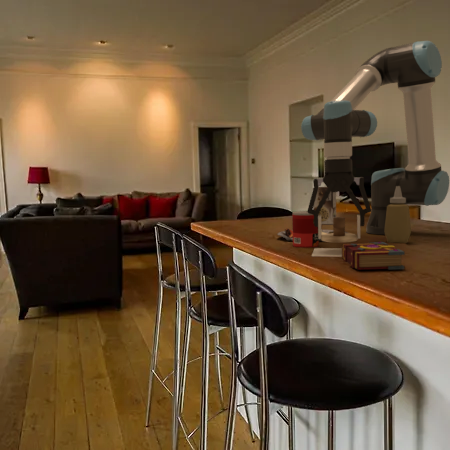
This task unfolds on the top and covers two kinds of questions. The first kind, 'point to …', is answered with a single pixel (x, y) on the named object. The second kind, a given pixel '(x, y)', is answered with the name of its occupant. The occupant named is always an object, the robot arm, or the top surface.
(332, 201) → the coffee box
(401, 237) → the squeeze bottle
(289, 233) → the food plate
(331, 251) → the mat
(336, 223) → the lid
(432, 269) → the top surface
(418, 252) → the top surface
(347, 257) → the decorative book
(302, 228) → the canned food
